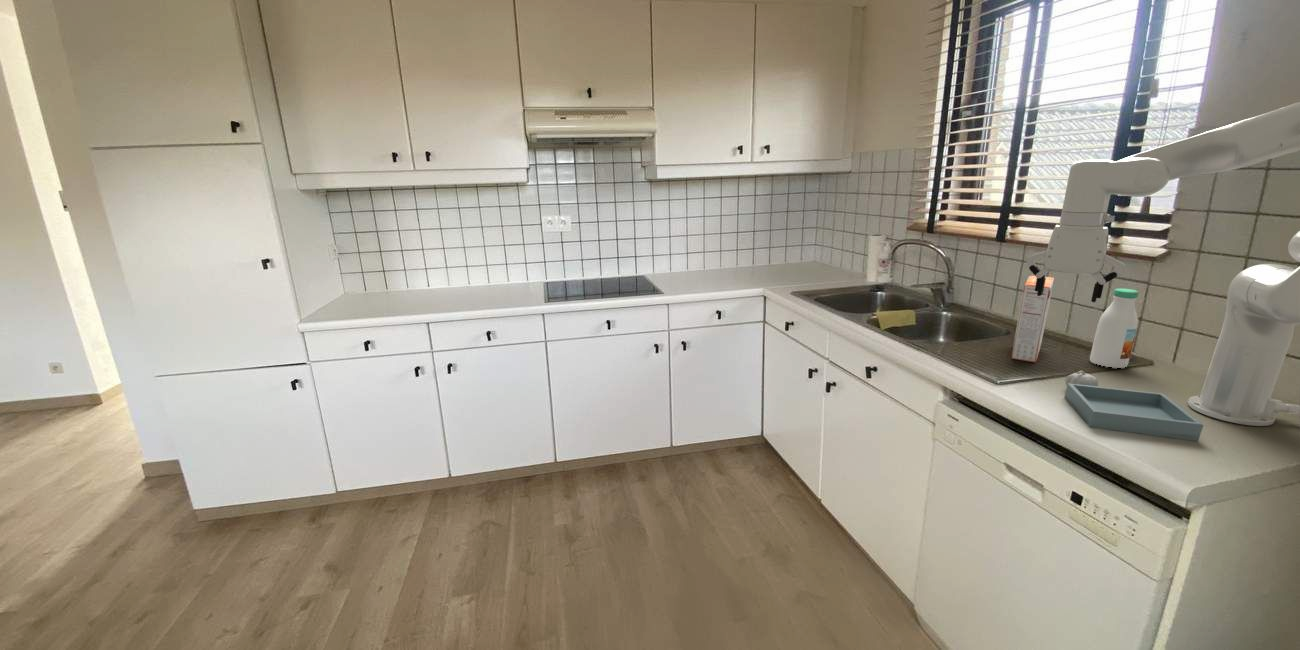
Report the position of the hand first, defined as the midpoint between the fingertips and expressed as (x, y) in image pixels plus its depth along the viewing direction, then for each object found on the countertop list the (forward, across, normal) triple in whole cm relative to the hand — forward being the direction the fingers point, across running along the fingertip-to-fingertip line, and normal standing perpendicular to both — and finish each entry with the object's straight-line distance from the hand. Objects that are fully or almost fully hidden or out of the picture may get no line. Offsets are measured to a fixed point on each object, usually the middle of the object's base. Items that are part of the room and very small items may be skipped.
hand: (1066, 297), depth 118 cm
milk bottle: (+23, -9, -30) cm, 39 cm away
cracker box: (+22, +8, -25) cm, 34 cm away
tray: (+22, -14, +7) cm, 27 cm away
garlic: (+23, -6, -4) cm, 24 cm away
